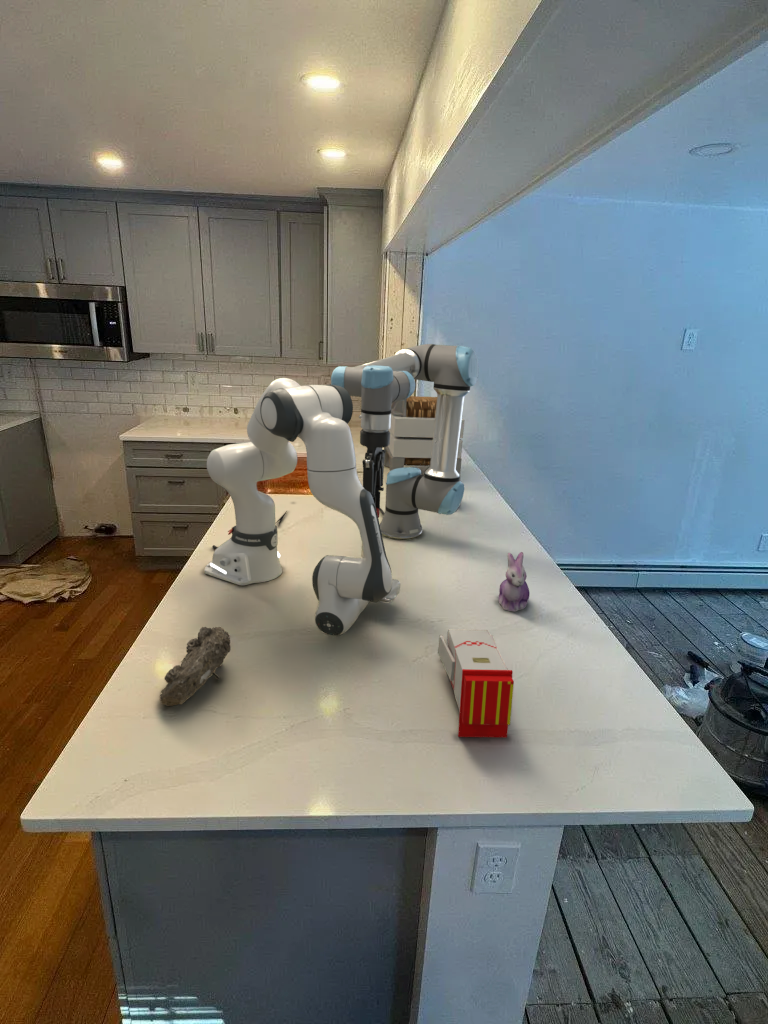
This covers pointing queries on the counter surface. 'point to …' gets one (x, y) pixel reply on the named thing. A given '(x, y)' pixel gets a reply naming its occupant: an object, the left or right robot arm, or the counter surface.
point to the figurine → (514, 585)
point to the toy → (478, 682)
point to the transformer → (414, 433)
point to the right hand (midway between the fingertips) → (372, 517)
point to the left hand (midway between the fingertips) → (370, 572)
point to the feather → (281, 518)
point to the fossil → (196, 665)
